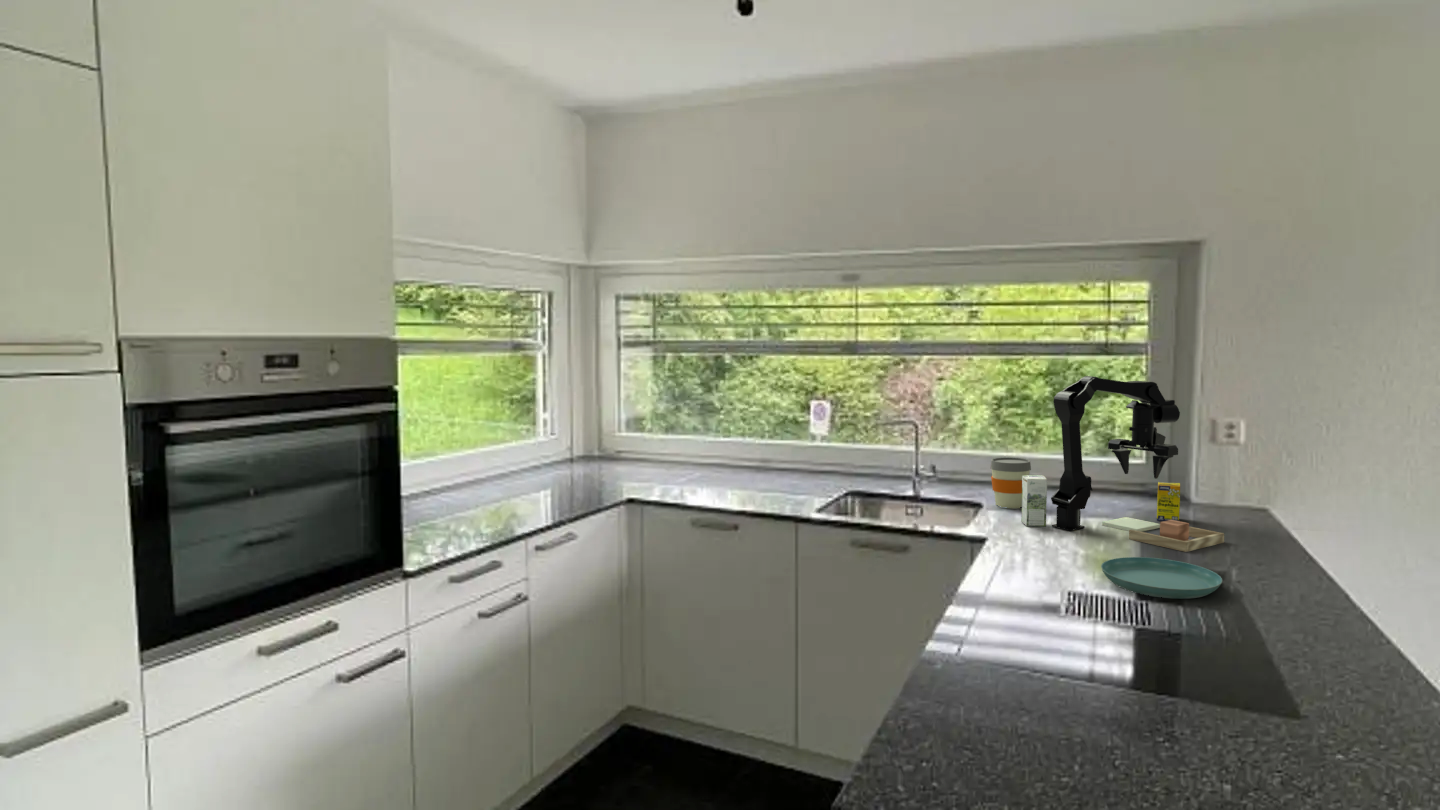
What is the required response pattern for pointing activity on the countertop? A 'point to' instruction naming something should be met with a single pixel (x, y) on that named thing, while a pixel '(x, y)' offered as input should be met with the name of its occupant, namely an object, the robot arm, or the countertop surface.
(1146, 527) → the pad
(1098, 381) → the robot arm
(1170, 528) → the terracotta cube
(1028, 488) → the syrup box
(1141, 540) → the open wooden frame
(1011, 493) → the reusable coffee cup
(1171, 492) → the supplement box
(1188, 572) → the teal plate
